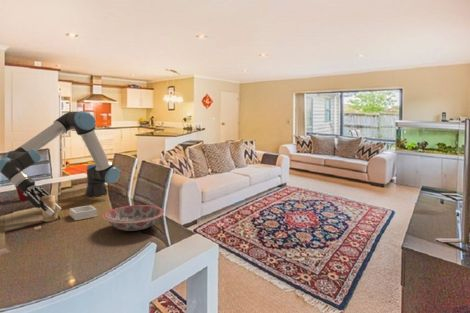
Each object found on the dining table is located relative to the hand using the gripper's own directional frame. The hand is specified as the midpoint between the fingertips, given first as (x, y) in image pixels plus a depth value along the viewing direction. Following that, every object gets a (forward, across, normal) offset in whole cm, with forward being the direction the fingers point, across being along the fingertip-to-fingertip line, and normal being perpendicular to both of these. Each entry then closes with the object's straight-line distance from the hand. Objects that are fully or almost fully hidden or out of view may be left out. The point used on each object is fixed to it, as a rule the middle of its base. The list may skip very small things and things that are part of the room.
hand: (55, 212), depth 156 cm
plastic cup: (-28, -40, -34) cm, 60 cm away
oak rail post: (+1, 0, -6) cm, 6 cm away
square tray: (+11, -8, +5) cm, 14 cm away
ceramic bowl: (+36, +11, +29) cm, 47 cm away
